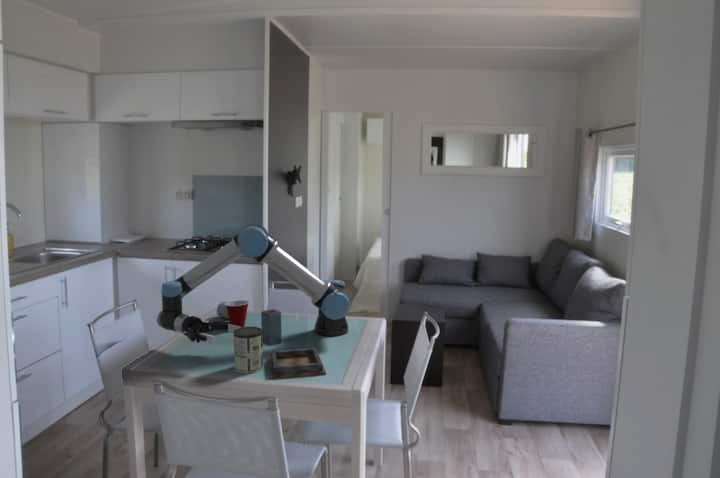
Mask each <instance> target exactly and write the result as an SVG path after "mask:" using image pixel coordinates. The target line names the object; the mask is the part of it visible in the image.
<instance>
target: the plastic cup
mask: <svg viewBox="0 0 720 478" xmlns="http://www.w3.org/2000/svg"><path fill="white" fill-rule="evenodd" d="M226 302H227V301H226ZM249 303H250V301H248V300H242V299H241V300H232V301H228V302H227V303H225V306H226V308H227V311H228V316H229V319H228V321H230V322H233V325H236V326H240V327H246V319H247V312H248V307H249Z"/></svg>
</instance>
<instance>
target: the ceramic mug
mask: <svg viewBox="0 0 720 478" xmlns="http://www.w3.org/2000/svg"><path fill="white" fill-rule="evenodd" d="M225 303H227V301H221V302H220V303H219V304H218V305H217V308H216V314H217V316H218V317H220V318H224V319H228V320H229V316H228V311H227V308H226V306H225Z"/></svg>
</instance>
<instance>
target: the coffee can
mask: <svg viewBox="0 0 720 478" xmlns="http://www.w3.org/2000/svg"><path fill="white" fill-rule="evenodd" d="M232 334H233V351H234V352H233V357H234V371H235V372H237V373H240V374H253V373H257V372H259V371H262V370H263V368H264V365H263V364H264V357H263V356H264V355H263V353H264V352H263V350H264V349H263V329H262V328H261V327H258V326H244V327H242V328H238V329H236V330H234V331H233V332H232Z"/></svg>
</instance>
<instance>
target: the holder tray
mask: <svg viewBox="0 0 720 478" xmlns="http://www.w3.org/2000/svg"><path fill="white" fill-rule="evenodd" d="M270 352H271V353H270V356H268V365H269V370H270V376H271V377H270V378H271V379H272V380H275V379H283V378H284V379H286V378H297V377H298V378H299V377H309V376H310V377H312V376H313V377H314V376H323V375H324V376H325V375H327V371H326V369H325V366H324V364H323V362H322V359H321V357H320V355H319V352H318V350H317V348H316V347H315V348H314V347H313V348H297V349H285V350H284V349H282V350H271V351H270Z"/></svg>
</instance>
